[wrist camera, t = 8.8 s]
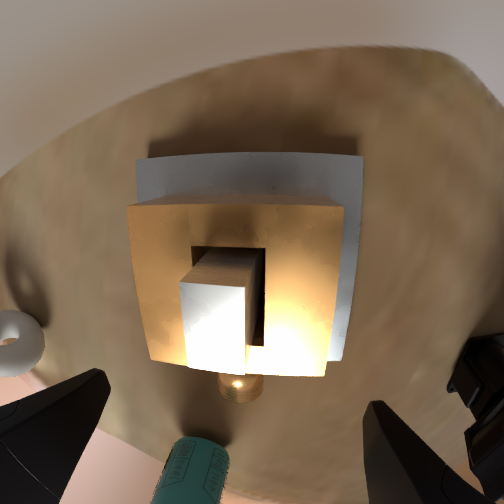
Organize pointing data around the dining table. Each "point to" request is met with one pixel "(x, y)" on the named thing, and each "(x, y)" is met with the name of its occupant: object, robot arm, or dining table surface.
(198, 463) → the beverage bottle
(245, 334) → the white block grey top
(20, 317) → the donut
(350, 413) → the dining table surface
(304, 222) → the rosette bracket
